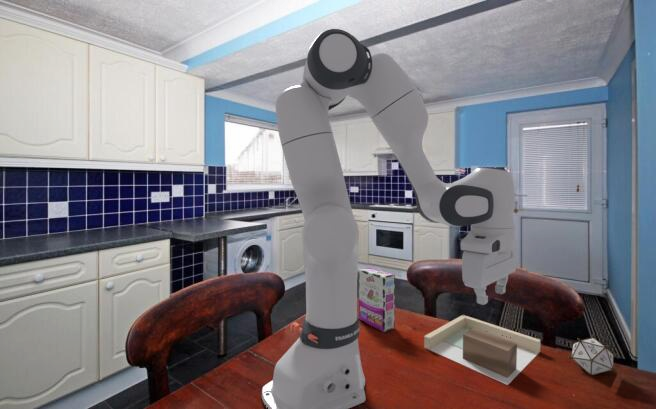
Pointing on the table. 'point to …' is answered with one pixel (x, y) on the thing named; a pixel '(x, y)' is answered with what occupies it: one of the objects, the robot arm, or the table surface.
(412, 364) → the table surface
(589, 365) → the game die
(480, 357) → the walnut block
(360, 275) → the candy bar box
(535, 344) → the arena
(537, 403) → the table surface
